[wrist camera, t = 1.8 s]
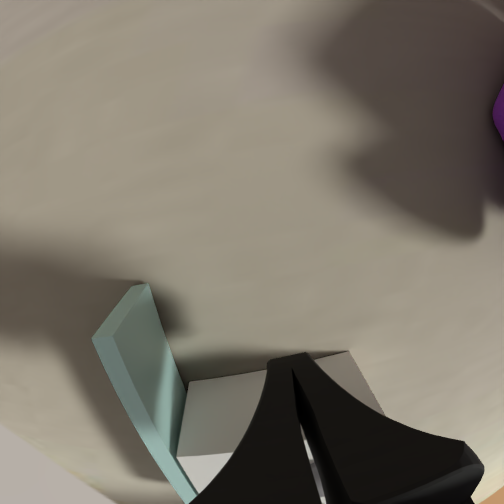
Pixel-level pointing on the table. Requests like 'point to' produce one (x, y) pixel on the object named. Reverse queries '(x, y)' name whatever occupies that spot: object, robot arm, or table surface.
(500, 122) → the toy camera
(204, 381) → the block
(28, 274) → the table surface
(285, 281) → the table surface
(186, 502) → the side door
